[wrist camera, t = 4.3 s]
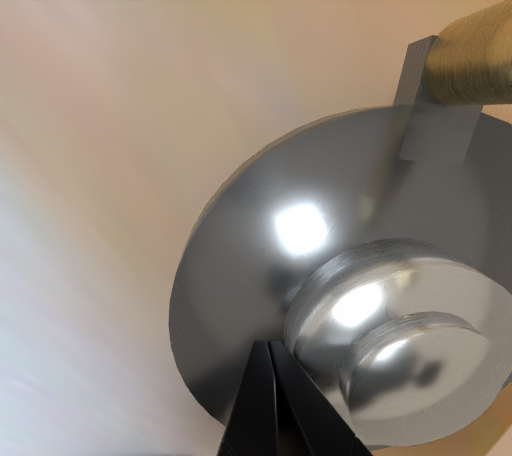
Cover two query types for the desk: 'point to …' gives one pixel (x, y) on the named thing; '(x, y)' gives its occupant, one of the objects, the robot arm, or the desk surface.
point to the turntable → (352, 201)
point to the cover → (402, 340)
